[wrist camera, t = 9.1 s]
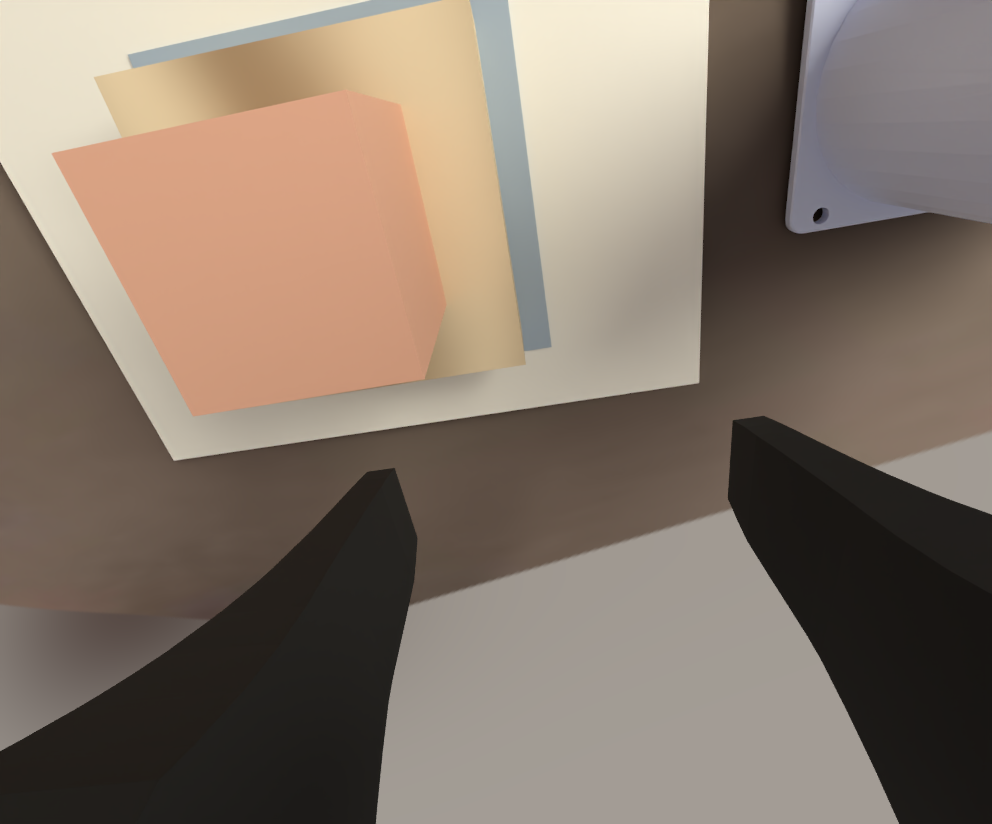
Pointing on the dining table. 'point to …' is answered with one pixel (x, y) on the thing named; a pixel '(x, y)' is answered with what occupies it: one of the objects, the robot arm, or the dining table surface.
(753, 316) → the dining table surface
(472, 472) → the dining table surface
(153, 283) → the terracotta cube
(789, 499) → the robot arm
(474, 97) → the oak base brick
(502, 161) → the board
